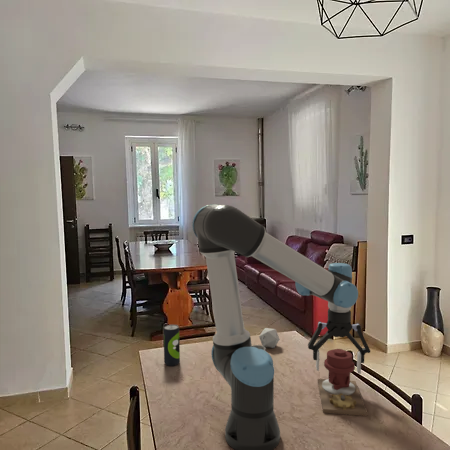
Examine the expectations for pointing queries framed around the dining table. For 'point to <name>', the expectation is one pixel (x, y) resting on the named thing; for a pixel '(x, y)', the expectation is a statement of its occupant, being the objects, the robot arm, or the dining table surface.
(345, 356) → the mechanical component
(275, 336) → the die
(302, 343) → the dining table surface
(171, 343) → the beverage can
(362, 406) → the gear board
